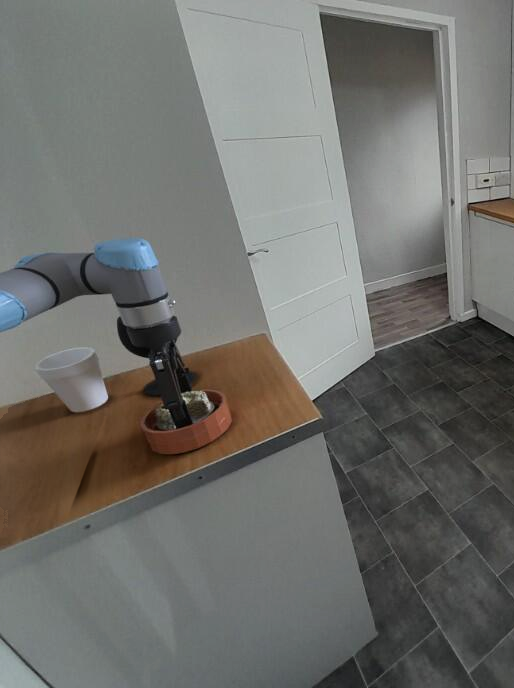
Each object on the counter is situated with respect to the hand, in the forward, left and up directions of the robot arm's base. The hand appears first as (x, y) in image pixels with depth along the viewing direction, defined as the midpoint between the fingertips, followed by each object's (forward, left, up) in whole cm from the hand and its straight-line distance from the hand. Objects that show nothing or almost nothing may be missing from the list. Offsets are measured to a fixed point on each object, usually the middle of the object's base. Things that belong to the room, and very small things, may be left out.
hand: (186, 414), depth 86 cm
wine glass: (-5, +24, -5) cm, 25 cm away
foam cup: (-20, +24, -5) cm, 32 cm away
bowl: (0, 0, -5) cm, 5 cm away
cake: (0, 0, 0) cm, 0 cm away
